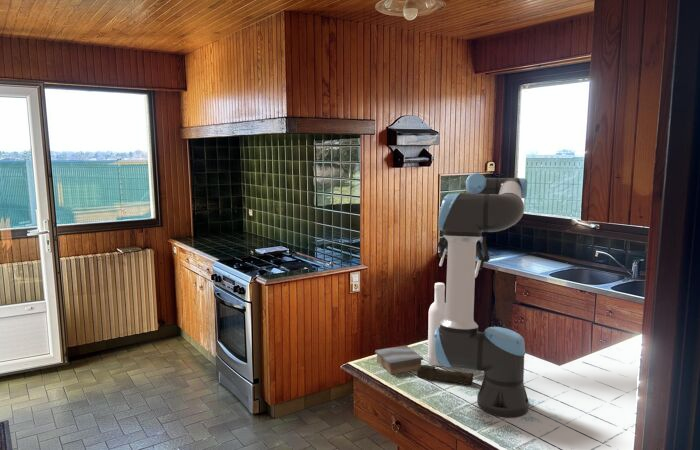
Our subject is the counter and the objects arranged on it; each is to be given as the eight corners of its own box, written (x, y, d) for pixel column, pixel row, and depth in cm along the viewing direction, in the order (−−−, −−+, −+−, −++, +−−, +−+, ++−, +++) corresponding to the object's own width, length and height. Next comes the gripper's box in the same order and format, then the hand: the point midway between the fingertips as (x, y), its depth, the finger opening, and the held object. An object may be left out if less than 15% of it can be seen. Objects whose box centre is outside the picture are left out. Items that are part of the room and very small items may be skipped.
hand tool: (473, 382, 172) (473, 369, 171) (471, 387, 168) (472, 373, 167) (419, 374, 179) (419, 361, 178) (416, 378, 175) (416, 365, 174)
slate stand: (422, 369, 182) (423, 357, 181) (390, 375, 177) (390, 363, 177) (406, 356, 194) (406, 345, 193) (375, 361, 189) (375, 350, 189)
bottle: (423, 362, 188) (424, 283, 185) (436, 356, 194) (437, 279, 190) (440, 368, 183) (441, 287, 179) (453, 362, 188) (455, 283, 184)
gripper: (499, 234, 201) (487, 283, 194) (439, 214, 203) (424, 263, 196) (505, 228, 194) (492, 279, 187) (442, 207, 196) (427, 257, 189)
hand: (457, 271), depth 191 cm, fingers open, 13 cm apart
